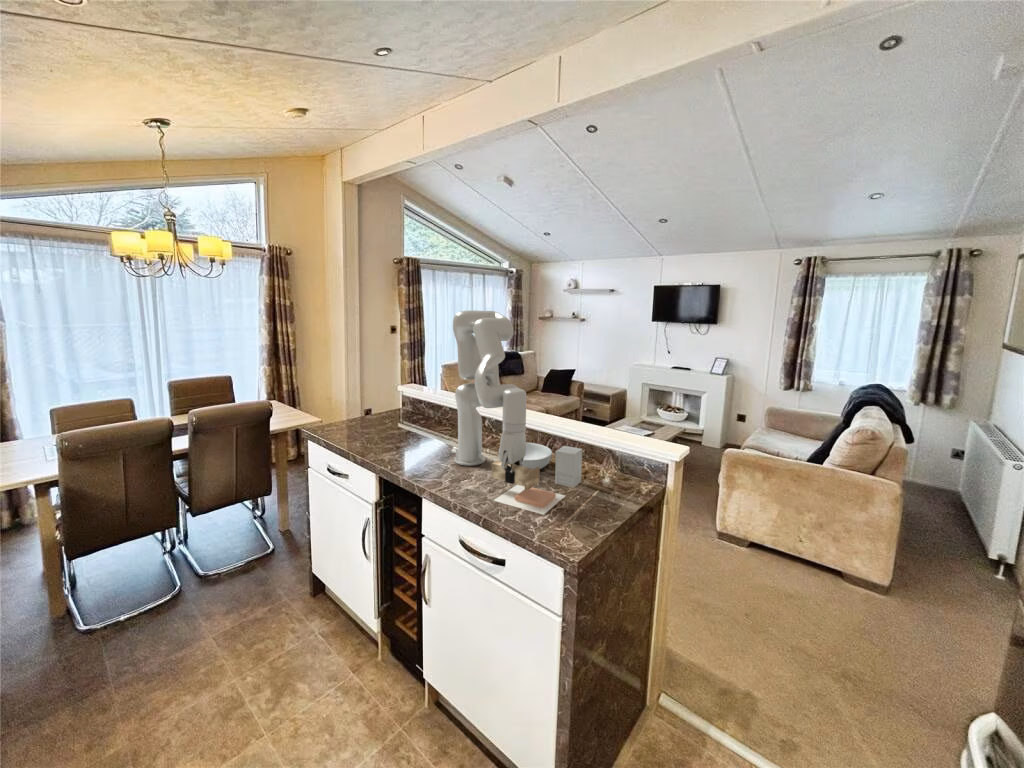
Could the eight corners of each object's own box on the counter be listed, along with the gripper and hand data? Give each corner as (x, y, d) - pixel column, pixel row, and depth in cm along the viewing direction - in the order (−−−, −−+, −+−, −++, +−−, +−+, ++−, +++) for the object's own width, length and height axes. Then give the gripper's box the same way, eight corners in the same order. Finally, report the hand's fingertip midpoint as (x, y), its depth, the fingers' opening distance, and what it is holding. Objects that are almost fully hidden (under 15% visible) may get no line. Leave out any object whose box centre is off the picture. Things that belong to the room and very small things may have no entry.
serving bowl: (505, 479, 159) (506, 461, 157) (492, 460, 179) (492, 444, 177) (559, 474, 164) (560, 457, 163) (541, 456, 184) (541, 440, 183)
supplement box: (581, 482, 157) (583, 448, 155) (573, 489, 151) (575, 454, 148) (562, 478, 161) (563, 445, 158) (554, 485, 154) (555, 450, 152)
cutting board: (493, 502, 140) (493, 500, 140) (518, 485, 153) (518, 483, 153) (543, 516, 131) (543, 514, 131) (565, 497, 144) (565, 495, 144)
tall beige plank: (487, 479, 145) (487, 465, 144) (500, 472, 152) (501, 458, 151) (527, 490, 137) (527, 475, 136) (539, 482, 144) (539, 467, 143)
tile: (515, 496, 139) (543, 503, 134) (528, 486, 147) (555, 493, 142) (515, 500, 140) (543, 508, 135) (528, 491, 147) (555, 498, 142)
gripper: (517, 419, 150) (516, 470, 153) (490, 430, 136) (489, 486, 139) (536, 423, 146) (535, 475, 150) (510, 434, 132) (509, 492, 136)
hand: (513, 480), depth 144 cm, fingers closed on tall beige plank, 3 cm apart
